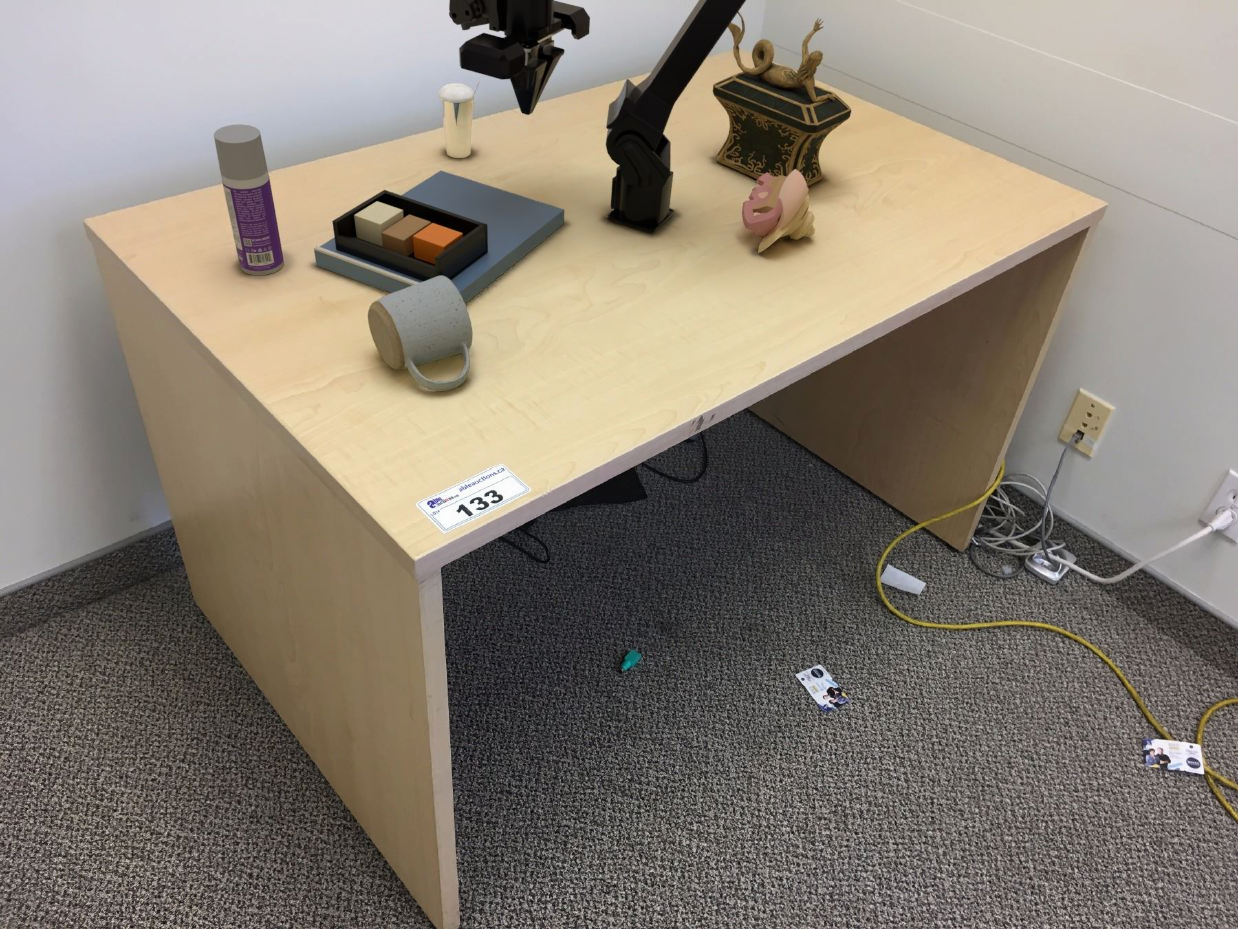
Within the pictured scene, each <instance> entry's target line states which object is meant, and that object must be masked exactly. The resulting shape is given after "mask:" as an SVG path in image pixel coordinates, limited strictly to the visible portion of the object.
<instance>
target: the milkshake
mask: <svg viewBox="0 0 1238 929" xmlns="http://www.w3.org/2000/svg"><path fill="white" fill-rule="evenodd" d="M479 85H480V82H478V83H477V85H476V88H475V90H473V88H471V87H470V86H468V85H466V84H464V83H459V82H458V83H454V82H449V83H446V84H444V85H443V87H441V88H440V89H439V91H438V99H439V106H440V112H441V118H442V124H443V125H442V126H443V132H444V133H443V134H444V141H445V149H446V155H447V156H449V157H450V158H454V159H464V158H467V157H469V156H471V153H472V134H473V133H472V132H473V131H472V130H473V116H474V104H475V94H476V92H477V90H478V87H479Z"/></svg>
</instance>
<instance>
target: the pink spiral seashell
mask: <svg viewBox="0 0 1238 929" xmlns="http://www.w3.org/2000/svg"><path fill="white" fill-rule="evenodd" d="M755 182H756V183H757V184H759V186H756V187H754V188H752V189H751V192H750V194H749V196H748V200H744V201H743V202H742V206H741V219H742V223H743V226H744V228H745V229H746V230H748V231H752V232H753V233H754V234H755V235H756V236H757V237H763V238H762V240H761V241H760V243H759V245H758V250H757V254H760V253H762V252H763V251H764V250H766V249H767V248H769V247H770V246H772V245H773V244H774V243H775V242H777V240H778V239H780V238H783V237H787V236H789V238H790V239H791V240H795V241H798V240H800V239H801V238H802V237H805V238H810V237H811V236H813V235H814V234H815V232H816V228H815V227H814V222H815V220H816V216H815V215H814V212H813V211H812V210H809V209H810V208H809V207H810V206H809V205H810V195H808V194H809V191H810V190H809V186H807V184H806V181H805V179H804V177H803V175H802V174H801V173H800V172H799V171H797V170H796V169H794V170H793V171H792V172H791V173H790V174H789V175H788V177H787V176H778V177H774V176H771V175H770V174H769V173H768V172H767V173H765V174H763V175H762V176H761V177H759V178H758V179H756V181H755ZM756 213H757V214H756ZM754 214H756V215H754Z"/></svg>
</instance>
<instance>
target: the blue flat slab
mask: <svg viewBox="0 0 1238 929" xmlns="http://www.w3.org/2000/svg"><path fill="white" fill-rule="evenodd" d="M400 195H401V196H404V197H407V198H410V199H413V200H416V201H419V202H422V203H425V204H428V205H431V206H434V207H437V208H440V209H443V210H446V211H449V212H452V213H455V214H458V215H461V216H464V217H467V218H470V219H473V220H476V221H479V222H482V223H485V224H487V227H488V253H486V254H485V255H484V256H482V257H481V258H480V259H479V260H477V261H476V262H475V263H473V264H472V265H471V266H469V267H468V268H467V269H465V270H464V271H463V272H461V273H460V274H459V275H457V276H456V277H455V278H453V279H452V280H451V281H452V283H453V284H454V285H455V286H456V288H457V289H458V291H459V293H460V294H461V297H462V299H463V300H464V303H465V305H466V304H467V303H468V302H470V301H472V299H474V298H475V297H476V296H477V295H479V294H480V293H481V292H482V291H483V290H484V289H486V288H487V287H488V286H489V285H491V284H492V283H493V282H495V281H496V280H497V279H498V278H499V277H501V276H502V275H503V274H505V273H506V272H507V271H508V270H509V269H510V268H512V267H513V266H514V265H516V264H517V263H518V262H519V261H520V260H522V259H523V258H524V257H525V256H527V255H528V254H529V253H530V252H532V250H534V249H535V248H536V247H538V246H539V245H540V244H542V243H543V242H544V241H545V240H546V239H548V238H549V237H550V236H551V235H552V234H554V233H555V232H556V231H557V230H559V229H560V228H561V227H562V226H563V225H564V224H565V208H561V207H559V206H555V205H552V204H549V203H545V202H542V201H539V200H536V199H533V198H530V197H526V196H523V195H520V194H517V193H514V192H510V191H507V190H504V189H500V188H498V187H495V186H491V185H488V184H486V183H483V182H479V181H476V180H472V179H471V178H467V177H463V176H460V175H457V174H454V173H451V172H447V171H444V170H439V171H437V172H435V173H434V174H433V175H431V176H430V177H428V178H426V179H425V180H423V181H421V182H420V183H418V184H417V185H415V186H413V187H412V188H411V189H409V190H407V191H406V192H404V193H403V194H400ZM313 252H314V259H315V266H316V267H318V268H321V269H325V270H327V271H330V272H333V273H336V274H338V275H341V276H344V277H346V278H349V279H351V280H355V281H357V282H360V283H361V284H365V285H368V286H371V287H374V288H376V289H379V290H382V291H385V292H387V293H389V294H391V293H394V292H396V291H399V290H402V289H405V288H407V287H410V286H413V285H415V284H418V283H421V282H424V281H421V280H418V279H416V278H413V277H410V276H407V275H405V274H402V273H399V272H396V271H394V270H391V269H388V268H385V267H383V266H380V265H377V264H374V263H372V262H369V261H366V260H364V259H361V258H358V257H355V256H353V255H350V254H347V253H344V252H342V251H339V250H336V245H335V238H334V237H333V238H331V239H329V240H328V241H326V242H325V243H323V244H321V245H320V246H319V245H315V246H314V247H313Z"/></svg>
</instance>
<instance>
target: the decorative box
mask: <svg viewBox="0 0 1238 929" xmlns="http://www.w3.org/2000/svg"><path fill="white" fill-rule="evenodd" d="M737 15H738V16H739V17H740V19H741V20H740V21H741V27H740V26H739V25H738V24H735V23H733V22H731V23H730V24H729V26H728V27H727V29H728V30H729V32H730V33H731V36H732V38H733V47H732V52H733V57H734V59H735V61H736V64H737V66H738V68H739V69H740V70H741V72H738V73H736V74H733V75H730V76H729V77H726V78H723V79H722V80H719V81H717V82H715V83H714V84H713V85H712V94H713V96H714V98H715V99H716V100H717V101H718V103H719V104H720V105H721V106H722V108H724V110H725V111H726V114H727V116H728V119H729V128H728V134H727V137H726V139H725V141H724V143H723V145H722V146H721V148H720V149H719V151H718V153H717V154H716V155H715V156H716V157H715V158H716V162H718V163H720V164H722V165H725V166H726V167H729V168H730V169H731V168H732V169H733V170H736V171H738V172H740V173H743V174H745V175H746V176H749V177H751V178H753V179H755V180H757V179H758V178H759V177H761V176H762V175H763V174H765V173H767V172H768V173H769V174H770V175H771V176H774V177H778V176H787V177H788V175H789V174H790V173H791V172H792V171H793V170H794V169H796V170H797V171H799V172H800V173H801V174H802V175H803V177H804V179H805V181H806V184H807V187H809V186H811V185H813V184H815V183H817V182H819V181H820V180H822V179H823V177H824V175H823V172H822V168H821V164H820V151H821V148H822V146H823V143H824V141H825V140H826V138H827V137H828V135H829V134H830V133H831V132H832V131H834V130H835V129H837V128H838V127H839V126H841V125H842V124H843V123H845V122H846V121H847V120H849V119H850V118H851V115H852V108H851V107H850V106H849V104H847V102H845V101H844V100H843V99H842V98H841V97H839V96H838V95H837V94H836V93H835V92H834V91H832V90H830V89H827V88H824V87H821V86H819V85H816V80H815V74H816V72H817V69H818V67H819V66H820V65H821V63H822V61H823V59H824V58H823V56H824V52H822V51H821V50H818V49H816V50H814V51H812V52H810V53H809V46H808V44H809V43H810V41H811V39H812V38H813V36H814V35H815V34H816V33H817V32H818V31H821V30H822V29H824V26H821V25H822V24H823V23H824V20H822V18H820V19H819V17H818V18H817V19H816V20H815V21H814V25H813V28H812V30H810V32H808V34H807V35H806V36H805V37H804V39H803V41H802V44H801V63H800V64H799V68H798V69H797V71H796V70H794V69H793V68H792V67H788V66H784V65H781V64H777V63H774V62H773V61H774V58H775V49H774V45H773V43H772V42H771V41H770V40H768V39H765V38H764V39H760V40H758V41H757V42H756V43H755V44H754V46H753V48H752V52H751V59H752V63H753V66H754V67H751V68H750V67H747V66H745V65H744V64H743V63H742V59H741V58H742V57H741V55H740V44H741V43H742V40H743V38H744V36H745V34H746V33H745V32H746V24H745V20H744V18H743V16H742V14H741V12H740V10H739V11H738V13H737Z"/></svg>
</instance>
